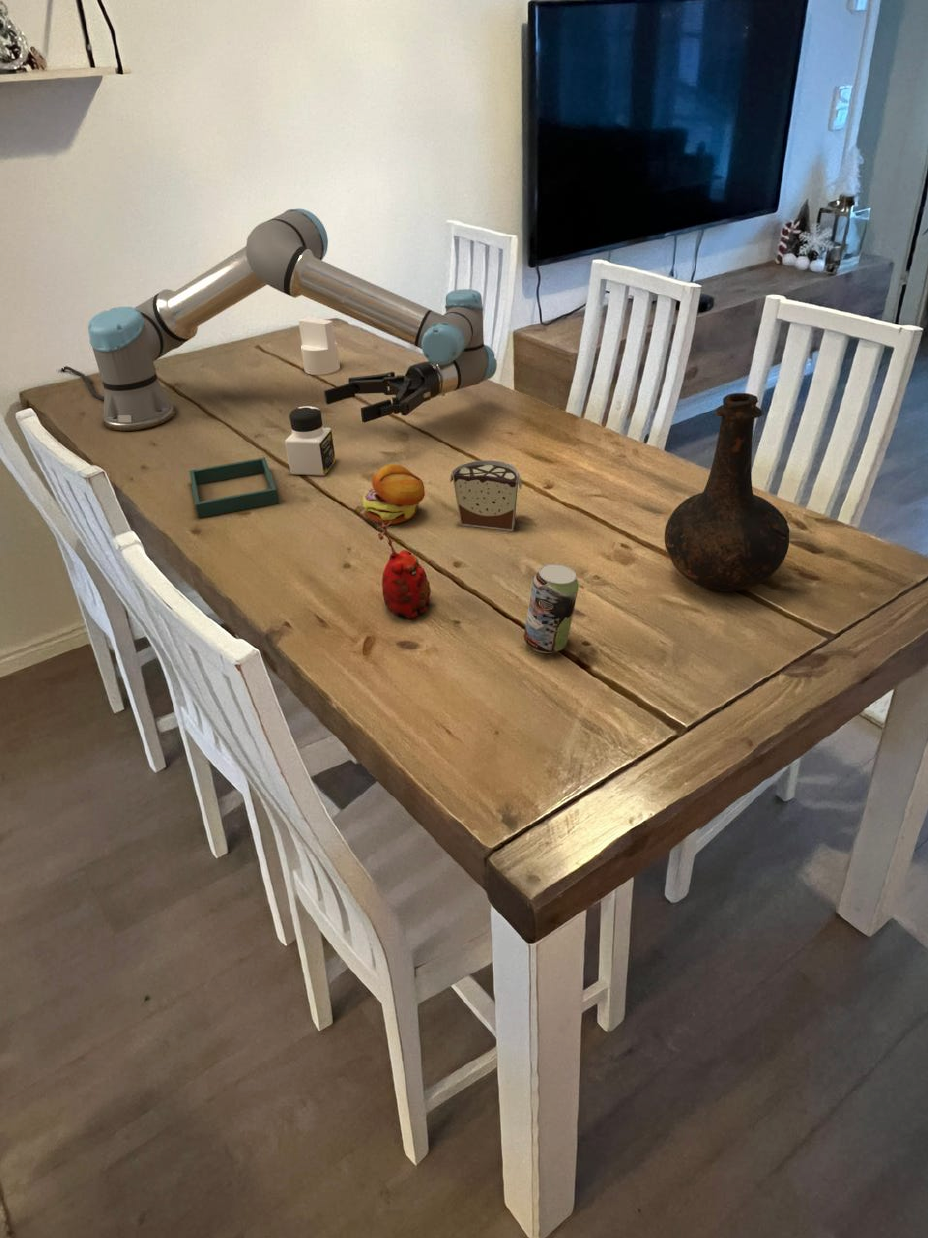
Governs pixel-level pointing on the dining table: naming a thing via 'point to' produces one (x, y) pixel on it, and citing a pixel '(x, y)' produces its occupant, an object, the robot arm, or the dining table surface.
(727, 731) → the dining table surface
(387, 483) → the cheeseburger
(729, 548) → the glass bottle
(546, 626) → the beverage can
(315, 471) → the medicine bottle
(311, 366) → the base with upright slab
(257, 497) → the tray
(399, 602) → the red clay folk toy
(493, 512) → the cream brown domed block
